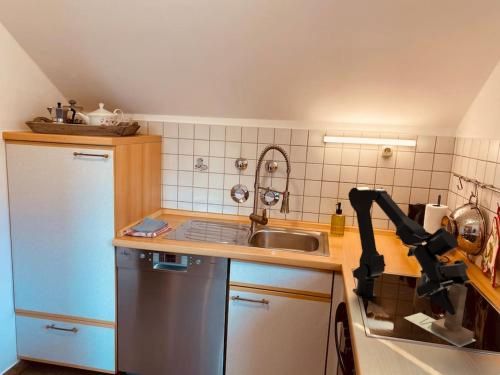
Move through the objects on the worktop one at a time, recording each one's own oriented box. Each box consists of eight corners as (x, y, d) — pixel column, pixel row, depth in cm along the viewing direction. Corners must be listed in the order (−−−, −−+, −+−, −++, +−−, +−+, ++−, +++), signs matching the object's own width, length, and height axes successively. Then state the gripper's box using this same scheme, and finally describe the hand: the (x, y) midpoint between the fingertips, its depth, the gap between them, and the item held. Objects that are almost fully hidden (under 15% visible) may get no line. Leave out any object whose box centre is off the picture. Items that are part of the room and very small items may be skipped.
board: (403, 321, 121) (403, 317, 121) (420, 316, 125) (420, 312, 125) (458, 351, 106) (459, 347, 106) (475, 344, 110) (476, 340, 110)
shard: (368, 304, 133) (368, 299, 133) (391, 309, 130) (392, 304, 130) (365, 317, 123) (366, 312, 122) (391, 323, 120) (391, 318, 120)
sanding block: (430, 329, 114) (437, 282, 112) (442, 325, 117) (450, 279, 115) (460, 345, 107) (468, 294, 104) (472, 340, 110) (480, 291, 107)
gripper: (430, 254, 107) (463, 309, 99) (468, 247, 116) (501, 296, 109) (403, 271, 115) (431, 323, 107) (440, 263, 124) (469, 310, 117)
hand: (459, 312), depth 110 cm, fingers open, 5 cm apart
